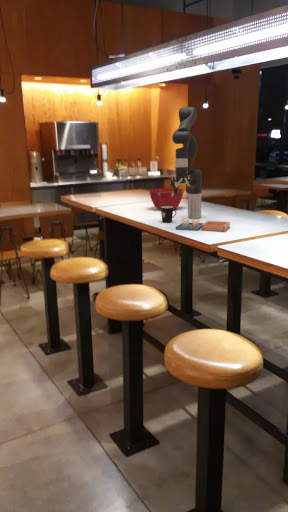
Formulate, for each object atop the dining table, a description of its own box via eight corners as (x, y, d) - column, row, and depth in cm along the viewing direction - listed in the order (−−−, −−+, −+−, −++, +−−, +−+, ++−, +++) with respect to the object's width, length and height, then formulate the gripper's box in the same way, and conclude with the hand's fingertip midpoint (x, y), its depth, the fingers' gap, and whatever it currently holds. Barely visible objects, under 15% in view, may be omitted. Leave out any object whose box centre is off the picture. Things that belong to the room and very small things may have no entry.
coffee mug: (158, 221, 287) (158, 206, 285) (170, 220, 290) (170, 205, 288) (165, 224, 277) (165, 209, 274) (177, 223, 280) (177, 208, 277)
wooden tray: (207, 226, 266) (207, 220, 265) (229, 227, 261) (229, 221, 260) (201, 230, 254) (201, 224, 253) (224, 231, 248) (224, 226, 248)
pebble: (193, 226, 265) (193, 219, 264) (199, 226, 263) (200, 219, 262) (191, 227, 261) (191, 220, 260) (197, 227, 259) (198, 220, 258)
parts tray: (183, 224, 273) (183, 222, 273) (204, 225, 268) (204, 223, 267) (175, 229, 259) (175, 226, 259) (197, 230, 254) (197, 227, 253)
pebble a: (183, 225, 267) (183, 218, 266) (190, 226, 266) (190, 218, 264) (181, 226, 263) (181, 219, 262) (188, 227, 262) (188, 220, 261)
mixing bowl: (143, 208, 347) (142, 189, 343) (173, 205, 359) (173, 187, 355) (158, 213, 322) (158, 192, 318) (190, 209, 334) (190, 190, 330)
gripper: (187, 165, 258) (187, 191, 263) (168, 166, 252) (168, 193, 256) (195, 165, 252) (194, 192, 256) (175, 167, 245) (175, 195, 250)
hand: (181, 193), depth 256 cm, fingers open, 8 cm apart
